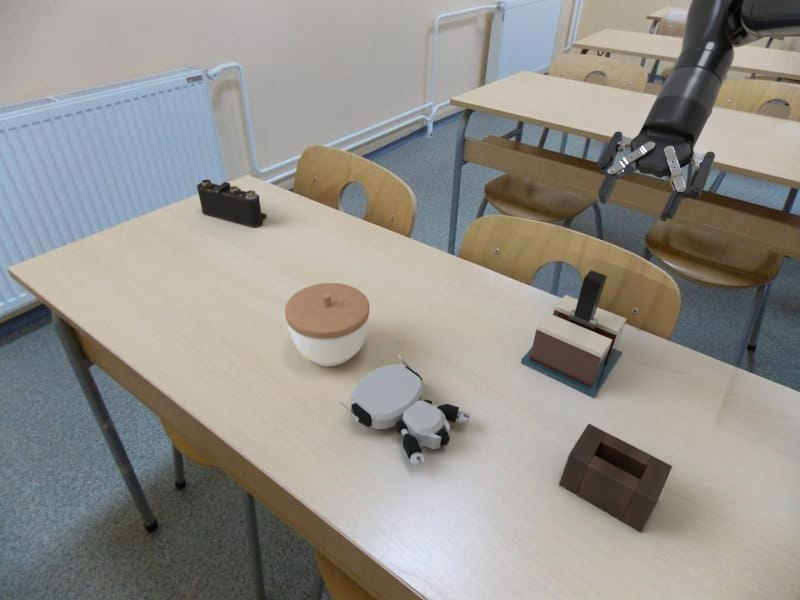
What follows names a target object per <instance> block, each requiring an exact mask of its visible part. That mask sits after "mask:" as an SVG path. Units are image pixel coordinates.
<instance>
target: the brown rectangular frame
mask: <svg viewBox="0 0 800 600" xmlns="http://www.w3.org/2000/svg"><path fill="white" fill-rule="evenodd" d="M672 469H673V465H671V464H670V463H667V462H666V461H664V460H661V459H659V458H658V457H656V456H653V455H651V454H650V453H648V452H646V451H644V450H642V449H640V448H638V447H636V446H634V445H632V444H630V443H628V442H627V441H624V440H622V439H620V438H618V437H616V436H614V435H612V434H611V433H609V432H606V431H605V430H603V429H601V428H599V427H597V426H594V425H593V424H591V423H588V424H587V425H586V427H585V428H584V430H583V431H582V433H581V434H580V436H579V438H578V439H577V441H576V442H575V444H574V445H573V446H572V449H571V451H570V452H569V454H568V457H567V459H566V463H565V465H564V468H563V471H562V475H561V477H560V480H559V483H558V485H559V487H562V488H564V489H566V490H568V491H569V492H570V493H573V494H574V495H576V496H577V497H579V498H581V499H582V500H585V501H586V502H588V503H590V504H591V505H593V506H594V507H596V508H598V509H600V510H601V511H603V512H605V513H606V514H608V515H610V516H612V517H613V518H615V519H616V520H619V521H621V522H622V523H624V524H625V525H627V526H628V527H630V528H632V529H633V530H635V531H637V532H638V533H642V532H643V530H644V528H645V526H646V524H647V522H648V520H649V519H650V517H651V515H652V513H653V512H654V509H655V508H656V506H657V504H658V502H659V500H660V498H661V495H662V492H663V490H664V487H665V485H666V483H667V480H668V478H669V476H670V473H671V471H672Z"/></svg>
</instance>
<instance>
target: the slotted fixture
mask: <svg viewBox="0 0 800 600" xmlns="http://www.w3.org/2000/svg"><path fill="white" fill-rule="evenodd" d="M578 299H579V298H575V297H572V296H570V295H567V294H565V295H564V296H563V297H562V298H561V299H560V300H559V301H558V302H557V303H556V304H555V306H554V309H553V313H552V314H551V313H550V312H548V313H546V315H545V316H544V317H543V318H542V319H541V321H540V322H539V323H538V324H537V325H536V328H535V333H534V338H533V342H532V346H531V347H530V349H529V350H528V351H527V352H526V353H525V354H524V356H523V357H522V358H521V359H520V364H523V365H525V366H526V367H529V368H530V369H532V370H535V371H537V372H538V373H541V374H543V375H546V376H548V377H549V378H551V379H554V380H556V381H557V382H560V383H561V384H563V385H566V386H568V387H570V388H572V389H574V390H577V391H578V392H580V393H582V394H585V395H587V396H589V397H590V398H593V399H595V398H596V396H597V395H598V393H599V391H600V390H601V389H602V387H603V386H604V384H605V382H606V381H607V379H608V378H609V376H610V374H612V372H613V370H614V369H615V367H616V365H617V364H618V363H619V361H620V359H621V358H622V357H623V354H624V351H621V350H619V349H617V348H618V345H619V342H620V339H621V337H622V334H623V331H624V328H625V325H626V322H627V318H626V317H624V316H621V315H619V314H615V313H614V312H611V311H608V310H606V309H603V308H600V307H599V306H598V307H597V310H596V313H595V315H594V317H593V318H596V319H598V322H597V325H596V328H595V332H593V331H590V330H588V329H585V328H583V327H581V326H578V325H576V324H573V323H571V322H569V321H568V320H569V316H570V313H571V311H572V310H573V309H574V310H576V306H577V302H578Z"/></svg>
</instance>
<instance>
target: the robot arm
mask: <svg viewBox="0 0 800 600" xmlns="http://www.w3.org/2000/svg"><path fill="white" fill-rule="evenodd" d="M764 38H800V0H691V2H690V4H689V8H688V11H687V15H686V20H685V26H684V31H683V37H682V43H681V50H680V53H679V55H678V56H677V60H676V61H675V63H674V65H673V68H672V69H671V71H670V74H669V76H668V77H667V79H665V81H664V83H663V84H662V86H661V88H660V90H659V92H658V94H657V96H656V98H655V100H654V102H653V104H652V105H651V108H650V110H649V112H648V114H647V116H646V118H645V120H644V123H643V125H642V127H641V129H640V130H639V133H638V134H637V135H636V136H634V137H633V138H631V137H628V136H624V135H623V132H622V131H618V130H617V131H615V132H614V133H613V135H612V137H610V140H609V142H608V144H607V145H606V147H605V149H604V150H603V152H602V154H601V156H600V158H599V159H598V161H597V169H598V173H599V174H600V175H602V176H604V178H603V180H602V183H601V185H600V187H599V189H598V191H597V193H598V199H599V201H600V204H602V205H603V204H604V205H607V203H608V201H609V199H610V198H611V195H612V193H613V191H614V189H615V187H616V185H617V181H618V180H619V179H621V178H623V177H625V176H628V175H631V174H632V173H634V172H636V171H639V174H644V175H652V176H654V177H656V178H660V179H662V178H666V177H667V179H668V181H669V184H670V187H671V188H672V191H671V193H670V195H669V197H668V199H667V201H666V203H665V205H664V207H663V210H662V211H661V214H660V221H661V222H664V223H666V222H667V221H668V219H669V220H673V218H674V217H675V216H676V214H677V212H678V209H679V208H680V206H681V204H682V201H683V200H685V199H689V198H690V199H692V200H698V199H700V197H701V196H702V194H703V192H704V188H705V186H706V183H707V181H708V178H709V176H710V174H711V171H712V168H713V167H714V162H715V158H716V154H715V152H714V151H707V152H706V153H699V152H695V150H694V148H695V146H696V144H697V143H698V140H699V138H700V137H701V134H702V132H703V131H704V128H705V125H706V124H707V121H708V119H709V118H710V117H711V115H712V113H713V109H714V107H715V104H716V103H717V99H718V96H719V93H720V91H721V88H722V86H723V83H724V82H725V79H727V75H728V74H729V71H730V69H731V67H732V64H733V62H734V59H735V49H734V48H740V47H743V46H746V45H748V44H751V43H754V42H757V41H759V40H762V39H764ZM627 148H630V153H628V154H626V155H625V156H623V157H622V158H621V160H620V161H618V162H616V163H615V164H613V163H614V161H615V159H616V157H617V155H618V153H622V152H624V151H625V150H626V149H627ZM690 163H694V169H695V170H696V171H697V174H696V176H695V178H694V181H693V184H686V182H685V179H684V175H683V172H682V168H684V167H686V166H687V165H689V164H690ZM612 164H613V165H612Z"/></svg>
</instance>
